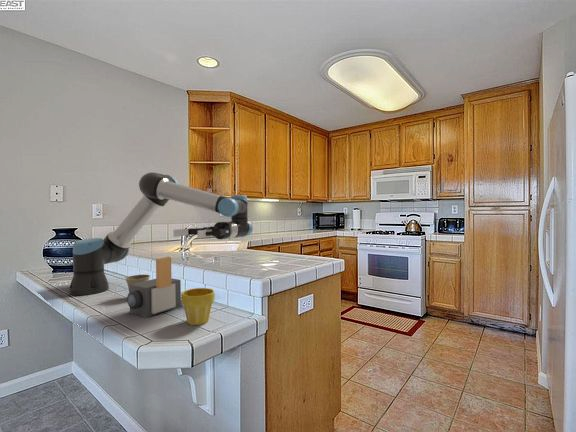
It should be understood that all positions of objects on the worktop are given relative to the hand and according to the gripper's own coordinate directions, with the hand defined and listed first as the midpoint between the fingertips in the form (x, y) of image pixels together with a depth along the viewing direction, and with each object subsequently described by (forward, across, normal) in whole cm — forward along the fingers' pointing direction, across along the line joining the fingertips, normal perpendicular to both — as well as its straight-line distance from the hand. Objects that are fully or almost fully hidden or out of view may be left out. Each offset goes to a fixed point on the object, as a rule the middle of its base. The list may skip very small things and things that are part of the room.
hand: (185, 233), depth 115 cm
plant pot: (+9, -17, -28) cm, 34 cm away
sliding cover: (+10, 0, -26) cm, 28 cm away
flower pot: (+3, +27, -27) cm, 38 cm away
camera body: (+10, +6, -27) cm, 30 cm away
